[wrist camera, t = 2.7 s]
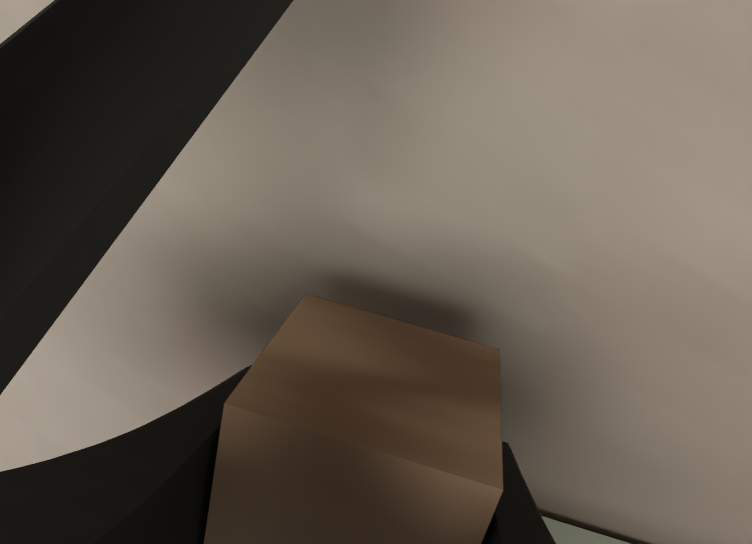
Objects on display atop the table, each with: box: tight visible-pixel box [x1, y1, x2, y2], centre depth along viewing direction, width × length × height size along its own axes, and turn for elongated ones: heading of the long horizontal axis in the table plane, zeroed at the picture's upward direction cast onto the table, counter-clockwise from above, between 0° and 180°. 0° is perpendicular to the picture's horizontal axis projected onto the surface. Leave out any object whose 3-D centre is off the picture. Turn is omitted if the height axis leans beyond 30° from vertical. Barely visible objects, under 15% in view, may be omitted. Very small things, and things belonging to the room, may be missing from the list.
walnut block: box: [204, 294, 503, 544], centre depth 12 cm, size 5×5×4 cm
